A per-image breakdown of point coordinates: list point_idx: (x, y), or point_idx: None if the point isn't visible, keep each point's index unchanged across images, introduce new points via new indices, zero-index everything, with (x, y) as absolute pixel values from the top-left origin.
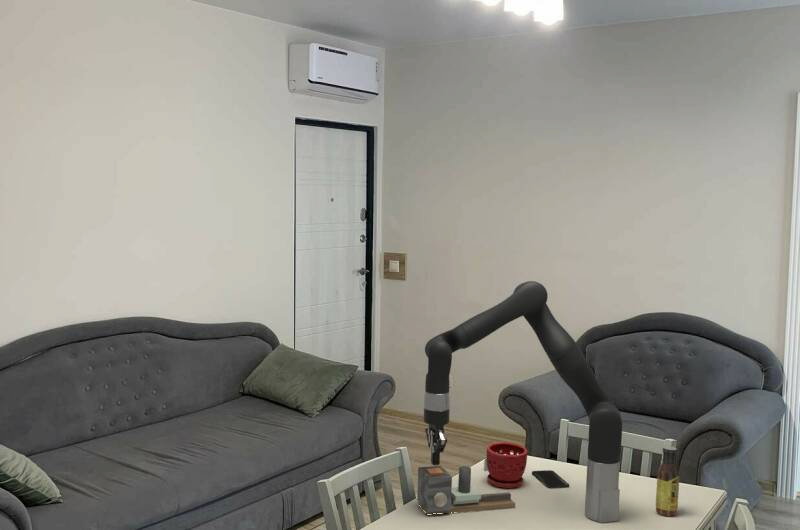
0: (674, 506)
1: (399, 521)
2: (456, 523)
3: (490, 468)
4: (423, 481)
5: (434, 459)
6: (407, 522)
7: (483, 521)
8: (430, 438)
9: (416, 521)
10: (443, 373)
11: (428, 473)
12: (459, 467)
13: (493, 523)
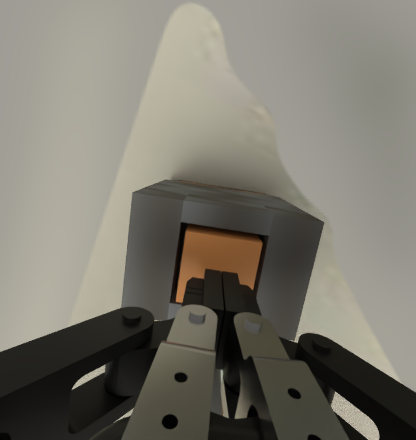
0: None
1: (168, 72)
2: (97, 235)
3: None
4: (224, 199)
5: (192, 291)
6: (152, 94)
7: (88, 309)
8: (266, 414)
9: (150, 127)
10: None
11: (224, 233)
12: (213, 403)
13: (68, 325)
